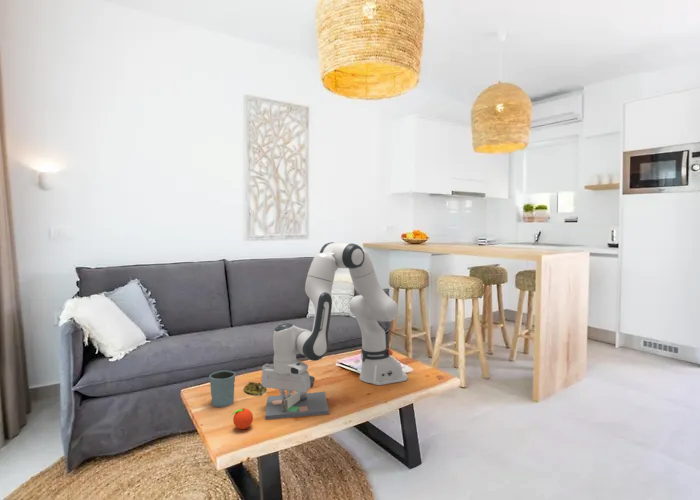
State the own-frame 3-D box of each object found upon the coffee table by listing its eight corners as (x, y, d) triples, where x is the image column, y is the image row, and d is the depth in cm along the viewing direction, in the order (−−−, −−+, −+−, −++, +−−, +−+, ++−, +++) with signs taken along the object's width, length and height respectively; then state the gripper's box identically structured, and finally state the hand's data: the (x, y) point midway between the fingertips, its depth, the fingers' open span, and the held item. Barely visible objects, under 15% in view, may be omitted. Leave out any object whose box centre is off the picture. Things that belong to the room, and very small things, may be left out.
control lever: (299, 395, 171) (299, 386, 171) (308, 396, 169) (308, 387, 169) (278, 410, 157) (278, 400, 157) (288, 412, 155) (288, 402, 155)
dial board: (324, 395, 174) (324, 391, 174) (329, 413, 157) (328, 409, 157) (267, 399, 171) (267, 396, 171) (265, 419, 153) (265, 415, 153)
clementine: (231, 435, 142) (231, 415, 142) (229, 426, 148) (228, 407, 148) (254, 430, 145) (254, 410, 145) (251, 421, 152) (250, 403, 151)
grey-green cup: (209, 400, 172) (208, 372, 171) (234, 396, 176) (233, 368, 175) (211, 410, 162) (210, 380, 162) (237, 405, 166) (236, 376, 166)
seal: (239, 390, 186) (252, 400, 173) (237, 380, 185) (250, 390, 173) (258, 383, 191) (272, 392, 179) (257, 373, 190) (270, 382, 178)
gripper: (257, 365, 161) (258, 399, 162) (304, 370, 154) (305, 406, 155) (266, 360, 167) (267, 393, 168) (311, 365, 160) (312, 400, 161)
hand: (285, 400), depth 161 cm, fingers closed
